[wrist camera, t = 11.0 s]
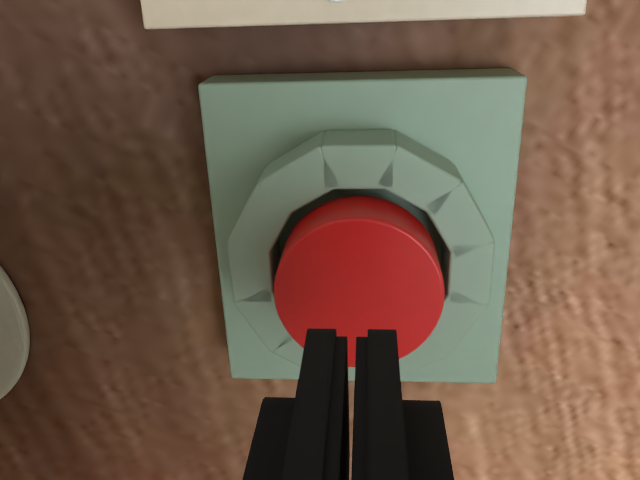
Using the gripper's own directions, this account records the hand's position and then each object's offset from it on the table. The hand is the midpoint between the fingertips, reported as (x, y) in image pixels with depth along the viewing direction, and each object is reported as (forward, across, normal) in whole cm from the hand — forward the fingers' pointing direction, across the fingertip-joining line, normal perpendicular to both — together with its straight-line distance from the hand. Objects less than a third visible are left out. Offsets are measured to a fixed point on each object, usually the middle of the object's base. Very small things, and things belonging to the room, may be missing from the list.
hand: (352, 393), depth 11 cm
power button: (+6, 0, 0) cm, 6 cm away
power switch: (+9, 0, 0) cm, 9 cm away
